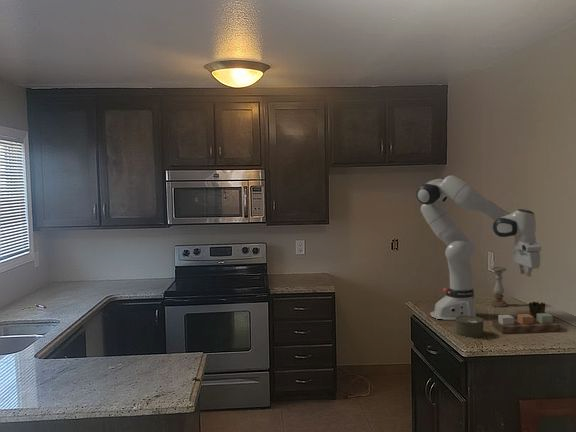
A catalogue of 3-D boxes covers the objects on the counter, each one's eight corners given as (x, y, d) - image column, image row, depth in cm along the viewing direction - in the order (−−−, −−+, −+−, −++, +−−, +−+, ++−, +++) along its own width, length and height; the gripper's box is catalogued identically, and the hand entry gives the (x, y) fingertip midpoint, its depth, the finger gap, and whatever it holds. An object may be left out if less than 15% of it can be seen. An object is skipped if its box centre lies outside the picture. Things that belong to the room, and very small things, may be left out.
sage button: (541, 323, 244) (541, 316, 243) (536, 320, 249) (536, 313, 248) (552, 323, 244) (552, 315, 244) (547, 320, 249) (547, 313, 249)
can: (475, 329, 248) (475, 314, 248) (488, 336, 236) (488, 321, 236) (451, 331, 247) (451, 316, 246) (463, 339, 235) (463, 323, 234)
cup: (526, 319, 261) (526, 303, 260) (532, 316, 266) (532, 300, 265) (542, 322, 255) (542, 305, 255) (547, 319, 260) (547, 303, 260)
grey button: (503, 325, 243) (502, 317, 243) (498, 322, 248) (498, 315, 248) (513, 325, 243) (513, 317, 243) (509, 322, 248) (508, 314, 248)
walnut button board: (503, 333, 240) (503, 327, 240) (492, 326, 252) (492, 320, 252) (560, 331, 241) (560, 324, 240) (546, 323, 253) (546, 317, 252)
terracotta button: (522, 324, 243) (522, 317, 243) (517, 321, 248) (517, 314, 248) (533, 324, 244) (533, 316, 243) (528, 321, 249) (528, 313, 248)
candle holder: (496, 302, 296) (496, 266, 295) (511, 305, 289) (510, 268, 288) (487, 305, 291) (486, 268, 290) (501, 308, 284) (501, 270, 283)
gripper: (508, 242, 254) (508, 271, 255) (528, 248, 233) (528, 279, 234) (521, 241, 254) (521, 270, 255) (543, 247, 233) (543, 278, 234)
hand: (525, 274), depth 244 cm, fingers open, 5 cm apart
